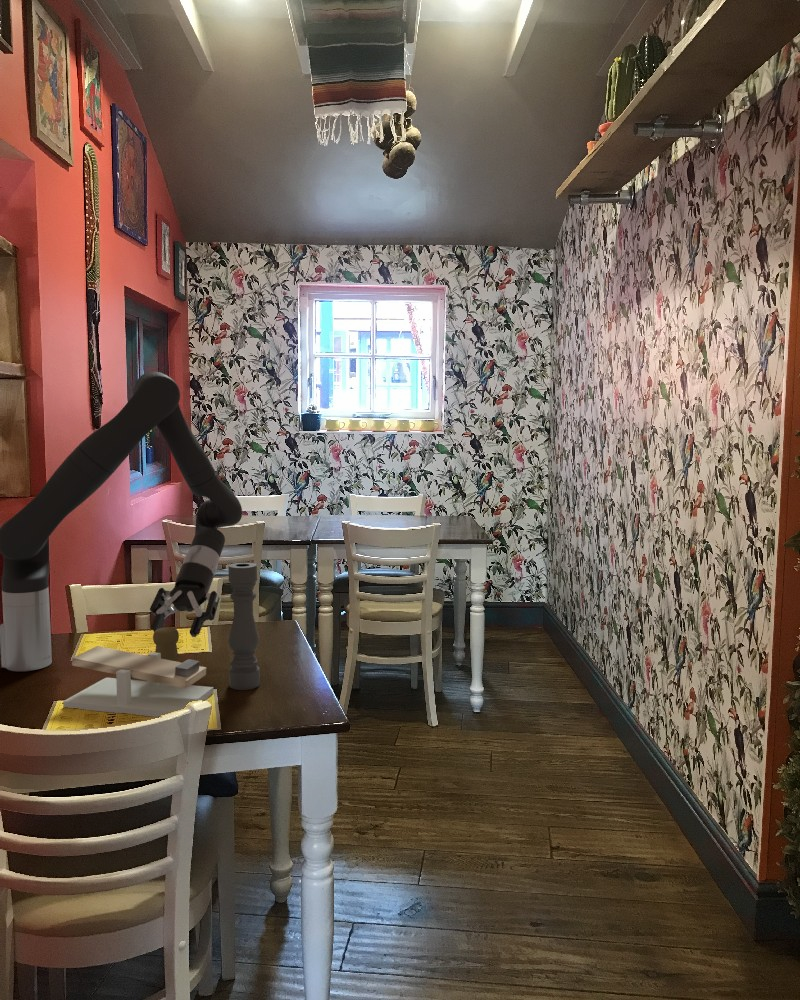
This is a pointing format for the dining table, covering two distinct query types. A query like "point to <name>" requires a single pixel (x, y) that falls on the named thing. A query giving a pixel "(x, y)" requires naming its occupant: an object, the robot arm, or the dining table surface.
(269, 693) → the dining table surface
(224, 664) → the dining table surface
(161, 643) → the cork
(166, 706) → the beam stand
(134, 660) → the beam
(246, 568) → the candle holder
